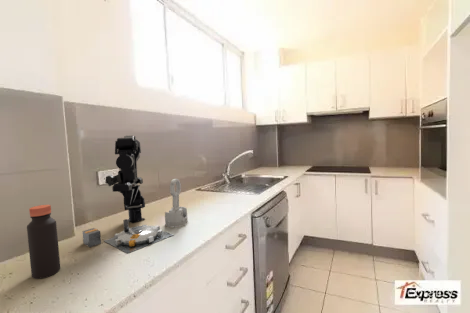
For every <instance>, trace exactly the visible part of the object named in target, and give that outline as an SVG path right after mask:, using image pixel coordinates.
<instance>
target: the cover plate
mask: <svg viewBox="0 0 470 313" xmlns="http://www.w3.org/2000/svg"><path fill="white" fill-rule="evenodd" d="M173 236H174V234H172V233H169V232H167V231H163V230H162V236H158V237H157V238H155V239H154V241H152V242H146V243H142V244H137V245H135V246H129V245H123V244H120V245H116V244H115V237H111V238H108V239H104V240H103V242H104V243H106V244H108V245H109V246H110V245H111V246H112V247H114V248H116V249H118V250H119V251H122V252H124V253H126V254H130V253H133V252H135V251H138V250H140V249H143V248H145V247H146V248H147V246H151V245H153V244H155V243H157V242H160V241H163V240H165V239H168V238H171V237H173Z"/></svg>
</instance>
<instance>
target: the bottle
mask: <svg viewBox="0 0 470 313" xmlns="http://www.w3.org/2000/svg"><path fill="white" fill-rule="evenodd" d="M51 215H52V207H51V204H42V205H41V204H40V205H36V206H32V207H30V208H29V217H30V219H31V221H30V222H29V223H28V224H27V226H26V231H27V234H26V235H27V241H28V242H27V243H28V244H27V245H28V253H29V262H30V263H29V264H30V272H31V273H30V274H31V278H33V279H36V280H39V279H45V278H49V277H51V276H52V275H53V276H54V275H55V274H56V273H58V272H60V270H61V260H60V259H61V257H60V249H59V238H58V229H57V228H58V227H57V226H58V225H57V221H56V220H55V219H54V218H53V217H51Z"/></svg>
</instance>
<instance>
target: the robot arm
mask: <svg viewBox="0 0 470 313" xmlns="http://www.w3.org/2000/svg"><path fill="white" fill-rule="evenodd" d="M114 142H115V144H114V145H115V146H114V154H115V155H118V157H117V158H116V160H115V165H116V166H117V168H119V170H118V171H117V174H116V175H114V176H113V175H112V174H110V175H106V177H105V184H107V185H108V187H111V186H112V187H111V188H112V192H113V193H114V192H115V193H116V192H118V193H121V195H122V196H123V206H124V211H128V223H131V224H135V223H138V222H141V221H145V220H146V219H145V218H144V217H142V209H144V208H145V207H146V202H145V200H146V199H145V198H144V196H143V195H142V192H141V190H140V187H141V185H142V184H144V181H143V180H144V179H143V178H142V177H141V176H138V161H139V159H140V158H141V153H142V148H141V147H142V146H141V142H140V141H139V140H138V139H137V137H136V136H135V135H125V136H124V137H117V139H116V140H115V141H114Z"/></svg>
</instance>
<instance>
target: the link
mask: <svg viewBox="0 0 470 313" xmlns="http://www.w3.org/2000/svg"><path fill="white" fill-rule="evenodd" d="M82 239H83V240H82V241H83V245H85V246H86V247H88V248H92V247H95V246H98V245H101V244H102V236H101V230H98V229H97V228H95V227H93V228H88V229H85V230H82Z"/></svg>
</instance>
